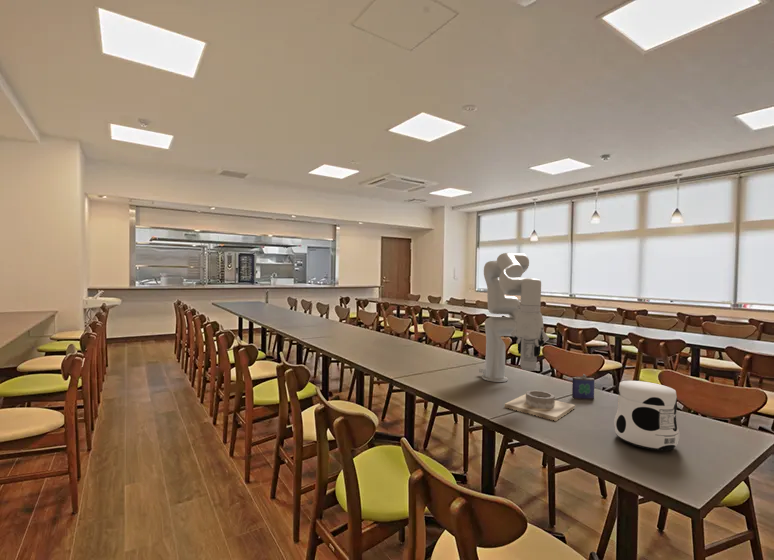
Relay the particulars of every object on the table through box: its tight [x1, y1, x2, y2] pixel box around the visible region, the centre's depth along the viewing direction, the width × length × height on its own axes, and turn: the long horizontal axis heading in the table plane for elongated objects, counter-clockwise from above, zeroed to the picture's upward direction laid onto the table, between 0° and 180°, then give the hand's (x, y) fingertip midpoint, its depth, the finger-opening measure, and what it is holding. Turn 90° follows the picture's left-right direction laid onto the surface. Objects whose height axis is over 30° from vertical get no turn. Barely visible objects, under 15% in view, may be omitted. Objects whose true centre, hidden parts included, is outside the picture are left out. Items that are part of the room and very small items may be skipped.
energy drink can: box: [519, 335, 538, 372], centre depth 156 cm, size 6×6×15 cm
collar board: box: [504, 389, 576, 422], centre depth 156 cm, size 20×20×6 cm
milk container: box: [613, 380, 680, 452], centre depth 125 cm, size 17×17×18 cm
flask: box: [571, 373, 595, 400], centre depth 170 cm, size 9×3×11 cm, turn 87°
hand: (528, 354), depth 156 cm, fingers closed on energy drink can, 5 cm apart
